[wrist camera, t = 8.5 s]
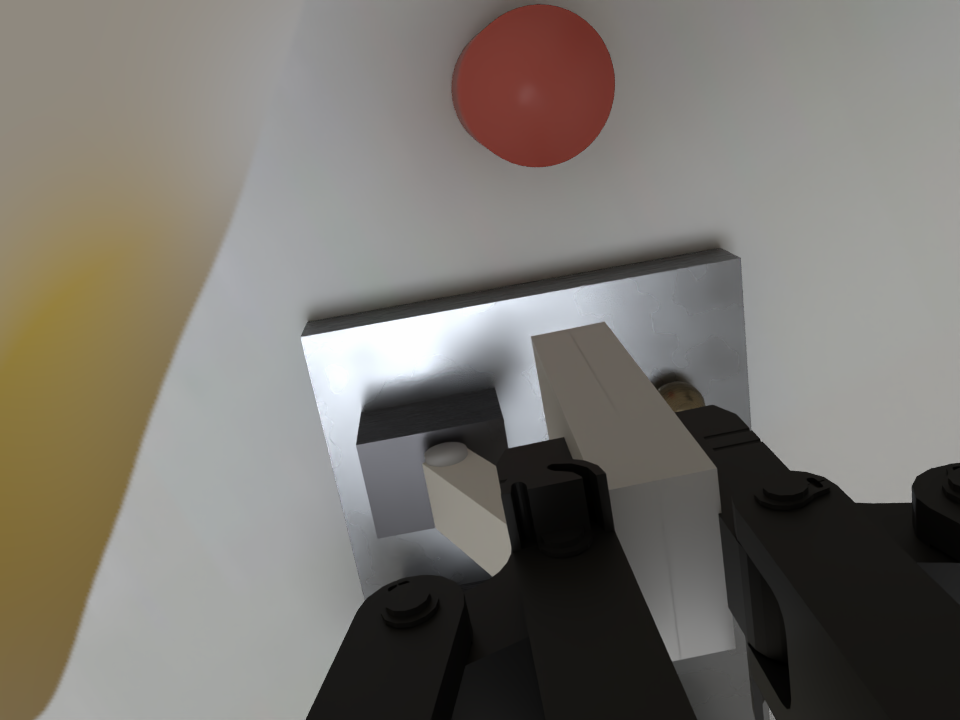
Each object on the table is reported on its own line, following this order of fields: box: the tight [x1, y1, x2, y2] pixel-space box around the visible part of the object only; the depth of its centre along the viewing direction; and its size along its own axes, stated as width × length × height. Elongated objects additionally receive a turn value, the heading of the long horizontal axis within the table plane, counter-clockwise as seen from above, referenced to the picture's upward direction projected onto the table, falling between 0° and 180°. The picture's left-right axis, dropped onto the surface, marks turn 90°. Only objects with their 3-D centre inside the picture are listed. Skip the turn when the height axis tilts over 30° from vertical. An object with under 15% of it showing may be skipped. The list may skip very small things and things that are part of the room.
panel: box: [301, 248, 769, 720], centre depth 33 cm, size 24×16×5 cm, turn 9°
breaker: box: [422, 442, 511, 577], centre depth 24 cm, size 3×2×8 cm, turn 9°
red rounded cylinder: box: [452, 4, 615, 167], centre depth 26 cm, size 4×4×6 cm
